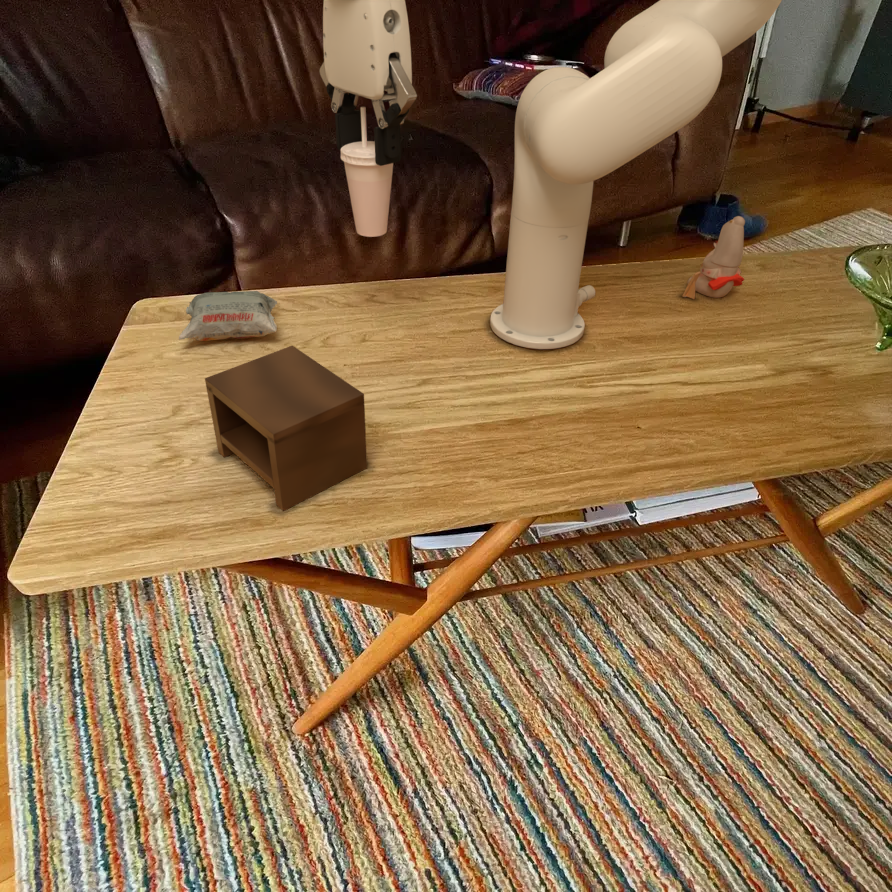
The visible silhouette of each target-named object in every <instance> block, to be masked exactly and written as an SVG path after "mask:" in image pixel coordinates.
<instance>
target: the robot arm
mask: <svg viewBox="0 0 892 892" xmlns="http://www.w3.org/2000/svg"><path fill="white" fill-rule="evenodd" d="M782 1H783V0H658V1H657V2H655V3H654V4H653V5H651V6H649V7H648V8H646V9H645V10H643V11H642V12H639V13H638V14H637V15H635V16H633V17H632V18H631V19H629V20H627V21H626V22H625V23H623V24H622V25H621V26H620V28H618V29H617V30H616V31H615V32H614V34H613V35H612V36H611V38H610V40H609V42H608V44H607V45H606V49H605V52H604V58H603V63H604V64H603V66H604V68H603V69H601V70H600V71H599V72H598V73H596V74H595V75H593V76H592V77H589V76H588V75H586V74H585V73H584V72H581V71H580V70H578V69H575V68H572V67H567V66H556V67H555V66H554V67H550V68H547V69H544V70H543V71H541V72H540V73H538V74H537V75H535V76H534V77H533V78H532V79H531V80H530V81H529V82H528V83H527V85H526V86H525V87H524V89H523V91H522V93H521V94H520V95H521V96H520V97H519V99H518V103H517V108H516V110H515V111H516V112H515V119H514V162H513V163H514V165H513V167H514V169H513V184H512V185H513V186H512V197H511V198H512V199H511V210H510V220H509V230H508V232H509V233H508V242H507V253H506V254H507V257H506V268H505V278H504V289H503V302H502V303H501V304H499V305H498V306H496V307H495V308H494V309H493V310H492V312H491V313H490V318H489V320H490V321H489V326H490V328H491V330H492V332H493V333H494V335H496V336H497V337H499V338H500V339H501V340H503V341H505V342H507V343H509V344H511V345H514V346H518V347H522V348H527V349H533V350H554V349H561V348H566V347H569V346H571V345H573V344H575V343H576V342H578V341H580V339H581V338H582V337H583V335H584V333H585V327H586V326H585V325H586V323H585V320H584V318H583V317H582V315H581V314H580V313H579V312H578V311H579V308H580V307H581V306H582V305H583V303H585V302H587V301H589V300H592V299H594V298H595V297H596V289H595V288H594V286H593V285H591V284H588V285H585V286H583V287H580V282H581V281H580V280H581V272H582V266H583V260H584V254H585V253H584V252H585V248H586V247H585V246H586V240H587V234H588V233H587V232H588V227H589V221H590V220H589V219H590V217H591V215H590V214H591V208H592V201H593V193H594V192H593V191H594V183H595V181H596V180H599V179H601V178H603V177H605V176H608V175H609V174H611V173H612V172H614V171H615V170H617V169H619V168H621V167H622V166H625V164H627V163H629V162H630V161H632V160H634V159H635V158H637V157H638V156H640V155H642V154H643V153H644V152H646V151H648V150H650V149H652V148H653V147H655V146H656V145H657V144H659V143H661V142H662V141H664V140H666V139H667V138H668V137H670V136H672V135H674V134H675V133H676V132H678V131H679V130H681V129H682V128H684V127H685V126H687V125H688V124H690V123H691V122H692V121H693V120H694V119H695V118H697V117H698V115H700V114H701V113H702V111H704V109H705V108H706V107H707V106H708V104H709V103H710V101H711V100H712V99H713V97H714V95H715V93H716V91H717V89H718V87H719V85H720V81H721V77H722V72H723V57H724V56H726V55H727V54H729V53H730V52H731V51H733V50H734V49H735V48H737V47H738V46H740V45H741V44H743V43H744V42H745V41H747V40H748V39H749V38H751V37H753V35H755V34H756V33H757V32H758V31H759V30H760V29H761V28H762V27H763V26H764V25H766V23H768V21H769V20H770V19H771V18H772V17H773V15H774V14H775V12H776V11H777V9H778V7H779V6H780V4H781V3H782ZM322 40H323V41H322V45H323V46H322V47H323V62H322V64H321V66H320V68H319V75H320V77H321V79H322V82H323V83H324V86H325V87H326V92H327V95H328V97H329V99H330V100H331V103H330V108H331V110H332V112H333V113H334V121H335V135H336V136H335V137H336V148H337V150H338V151H341V148H342V147H343V146H344V145H347V144H349V143H354V142H362V129H361V109H357V107H358V102H359V97H362V98H365V99H369V100H371V104H372V108H373V111H374V115H375V117H376V122H377V125H378V126H374V127H373V128H374V129H373V132H374V134H373V135H374V136H373V137H374V141H375V162H376V164H377V165H380V166H383V165H387V164H391V163H393V164H395V163H398V162H400V161H401V159H402V158H401V157H402V147H401V145H402V143H401V142H402V141H401V126H402V125H404V124H405V118H406V117H407V115H408V114H409V112H410V109H411V107H412V106H413V105H414V103H415V102H416V101H417V97H418V94H417V92H416V89H415V88H414V86H413V70H412V69H413V67H412V48H411V34H410V25H409V17H408V11H407V5H406V0H323V7H322ZM385 92H387V93H385ZM384 103H388V104H389V107H388V108H387V110H386V108H385V104H384Z"/></svg>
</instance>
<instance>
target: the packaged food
mask: <svg viewBox="0 0 892 892" xmlns="http://www.w3.org/2000/svg"><path fill="white" fill-rule="evenodd" d="M276 305H278V301H277V300H276V299H274V298H273V297H271V296H269V295H266V294H265V293H263V292H260V291H258V290H243V291H242V290H240V291H239V290H238V291H230V292H229V291H215V292H214V291H213V292H212V291H211V292H204V293H200V294H196V295H195V296H194V297H193V298H192V300H191V301H190V302H189V305H188V306H186V308H185V313H186V315H189V316H191V318H190V320H189V323H188V324H187V326H186V327H185V328H184V329H183V330H182V332H181V333H180V334H179V336H178V340H179V341H180V340H185V339H194V340H196V341H200V342H208V341H218V340H219V341H221V340H229V339H236V340H240V339H249V338H258V337H265V336H266V335H271V334H275V333H276V332H277V331H278V326H277V324H276V323H275V320H276V318H275V317H274V316H273V314H272V311H273V309H274V308H275V306H276Z"/></svg>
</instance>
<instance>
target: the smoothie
mask: <svg viewBox="0 0 892 892" xmlns="http://www.w3.org/2000/svg"><path fill="white" fill-rule="evenodd" d="M366 111H367V109H366V106H360V114H361V133H362V142H354V143H349V144H347V145H344V146H343V147H342V148H341V150H340V160H341V161H342V162H343V164H344V170H345V176H346V182H347V186H348V191H349V192H348V193H349V198H350V204H351V210H352V216H353V221H354V226H355V231H356V233H357V235H359V236H363V237H367V238H372V237H374V238H375V237H382V236H384V235H385V234H386V233H387V232H388V223H389V212H390V202H391V191H392V182H393V171H394V163H391V164H387V165H383V166H380V165H377V164H376V162H375V140H374V141H373V140H368V133H367V112H366Z"/></svg>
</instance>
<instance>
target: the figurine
mask: <svg viewBox="0 0 892 892" xmlns="http://www.w3.org/2000/svg"><path fill="white" fill-rule="evenodd" d="M745 224H746V220H745V218H744V217H743V216H741V215H737V216H734V217H733V219H730V220H728V221H727V222H726V223H724V224H723V225H722V227H721V230H720V233H719V236H718V239H717V240H715V242H713V246H714V249H713V250H711V251H709V253H707V254H706V255H705V257H704V259H703V260H702V263H701V265H700V267H699V271H697V272H694V273H693V275H692V276H690V277H689V278H688V279H687V281H686V282H687V283H686V284H687V285H686V288H685V290H684V291H683V293H682V294H681V297H683V298H690V299H692V300H695V298H696V292H697V293H699V294H701V295H704V296H706V297H709V298H713V299H714V298H716V299H717V298H718V299H719V298H724V297H725V296H727V295H729V293H730V292H731V290H732V288H733V287H739V286H742V285H743V282H745V278H744V277H743V276H742V275H740V274H742V270H741V268H740V267H739V266H741V264H742V260H743V257H744V256H743V255H744V244H745V242H744V241H745V240H744V239H745V227H744V226H745Z"/></svg>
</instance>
